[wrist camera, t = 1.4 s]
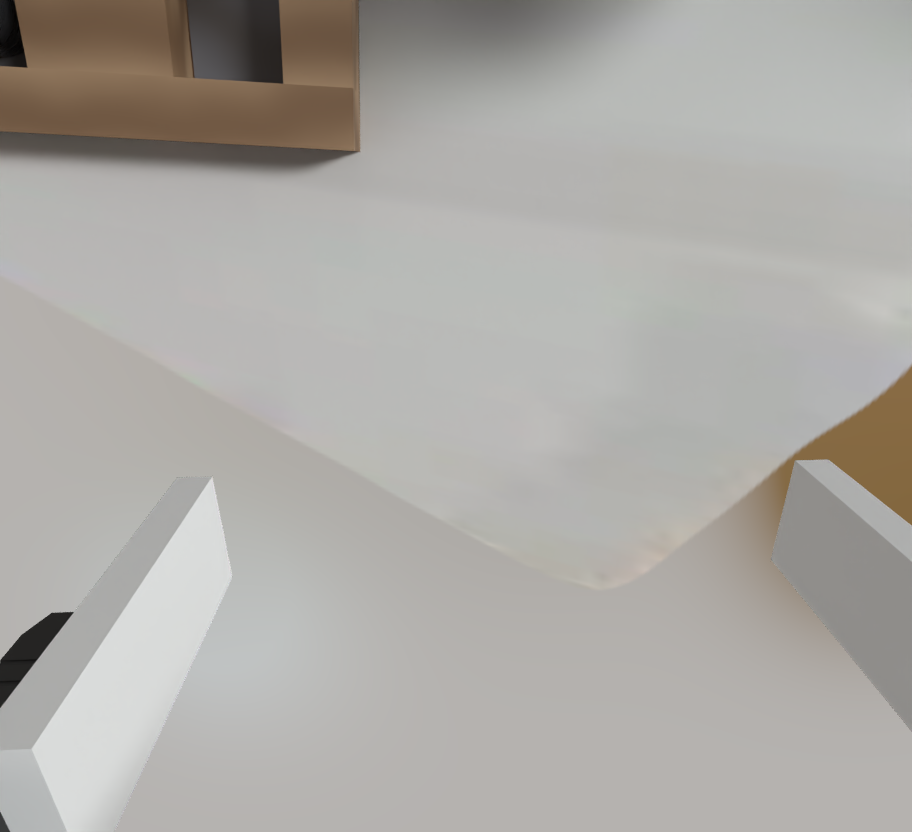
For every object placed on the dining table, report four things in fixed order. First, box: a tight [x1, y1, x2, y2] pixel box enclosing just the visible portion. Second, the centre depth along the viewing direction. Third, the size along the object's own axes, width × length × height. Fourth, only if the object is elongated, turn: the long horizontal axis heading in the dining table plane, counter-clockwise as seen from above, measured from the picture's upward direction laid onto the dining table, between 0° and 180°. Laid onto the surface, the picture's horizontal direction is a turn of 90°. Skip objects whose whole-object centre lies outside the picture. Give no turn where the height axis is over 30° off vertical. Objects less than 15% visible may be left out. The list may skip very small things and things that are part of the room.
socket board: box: [0, 0, 360, 152], centre depth 27 cm, size 10×22×3 cm, turn 87°
